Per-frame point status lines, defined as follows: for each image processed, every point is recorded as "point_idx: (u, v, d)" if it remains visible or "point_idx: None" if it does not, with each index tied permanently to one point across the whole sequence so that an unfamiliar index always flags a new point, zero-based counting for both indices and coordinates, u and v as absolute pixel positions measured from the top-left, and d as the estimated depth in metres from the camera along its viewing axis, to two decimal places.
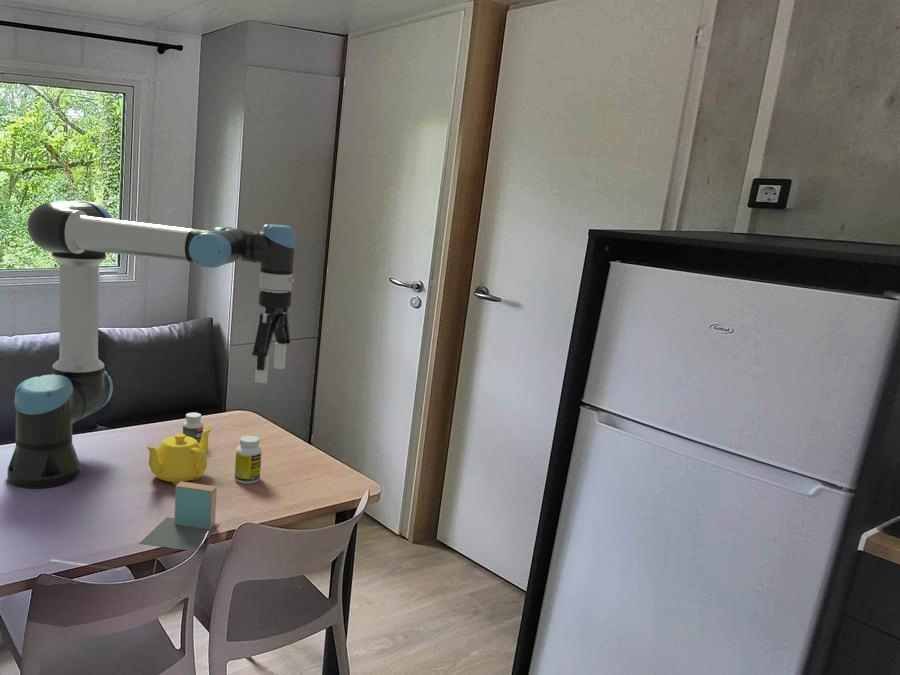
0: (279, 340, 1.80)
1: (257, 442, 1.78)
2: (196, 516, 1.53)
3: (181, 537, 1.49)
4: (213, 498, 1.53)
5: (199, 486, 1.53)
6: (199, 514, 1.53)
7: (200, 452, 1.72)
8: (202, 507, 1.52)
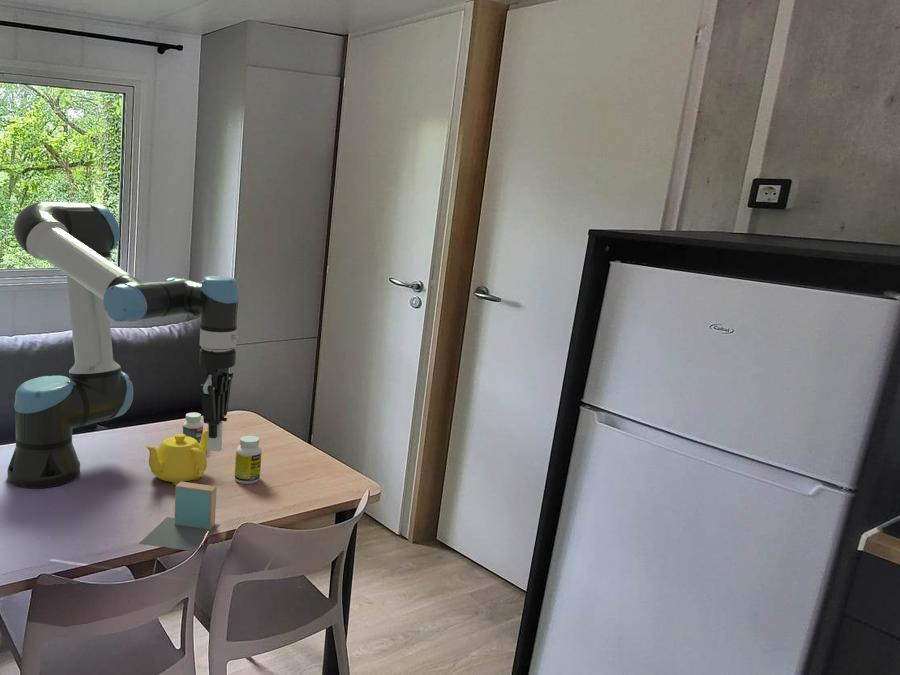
0: None
1: (257, 442, 1.78)
2: (196, 516, 1.53)
3: (181, 537, 1.49)
4: (213, 498, 1.53)
5: (199, 486, 1.53)
6: (199, 514, 1.53)
7: (200, 452, 1.72)
8: (202, 507, 1.52)
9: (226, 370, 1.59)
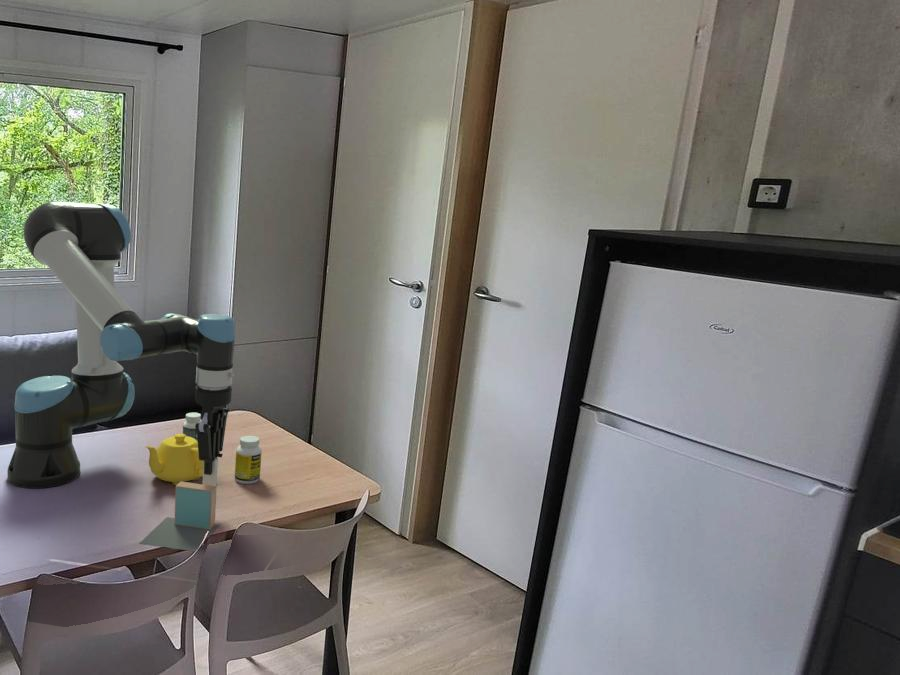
0: None
1: (257, 442, 1.78)
2: (196, 516, 1.53)
3: (181, 537, 1.49)
4: (213, 498, 1.53)
5: (199, 486, 1.53)
6: (199, 514, 1.53)
7: None
8: (202, 507, 1.52)
9: (222, 406, 1.59)
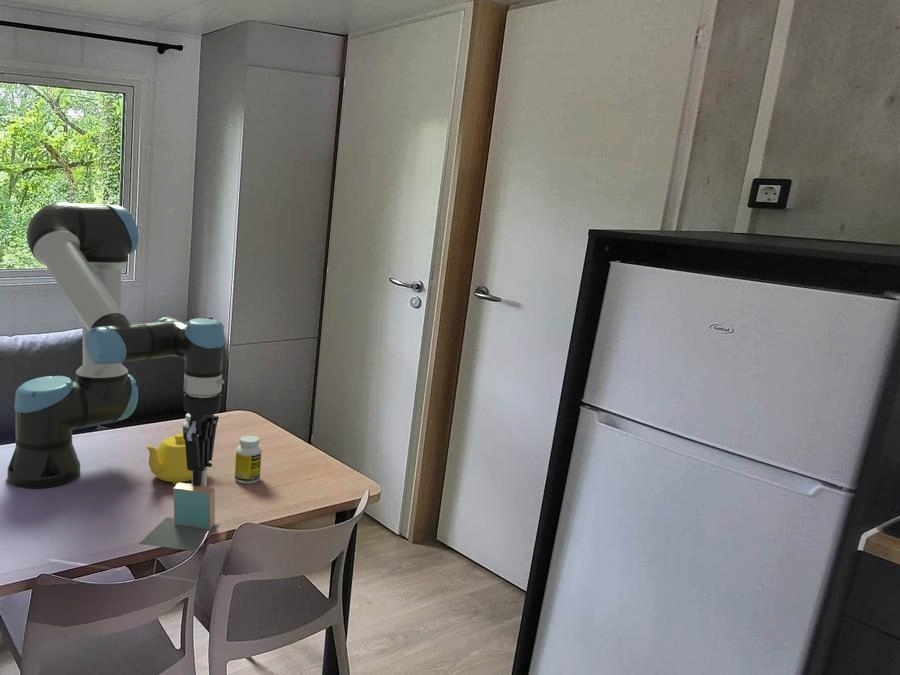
0: None
1: (257, 442, 1.78)
2: (195, 517, 1.53)
3: (181, 537, 1.49)
4: (212, 499, 1.52)
5: (197, 488, 1.52)
6: (198, 515, 1.52)
7: None
8: (201, 508, 1.52)
9: (211, 414, 1.54)
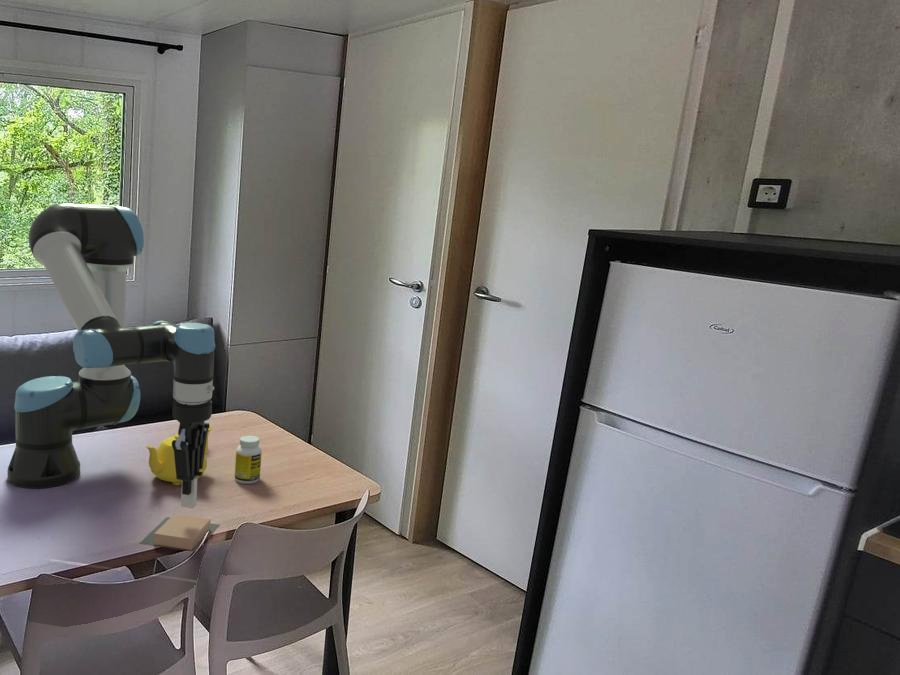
0: None
1: (257, 442, 1.78)
2: None
3: None
4: (196, 539, 1.46)
5: (176, 541, 1.44)
6: None
7: None
8: None
9: (202, 422, 1.49)
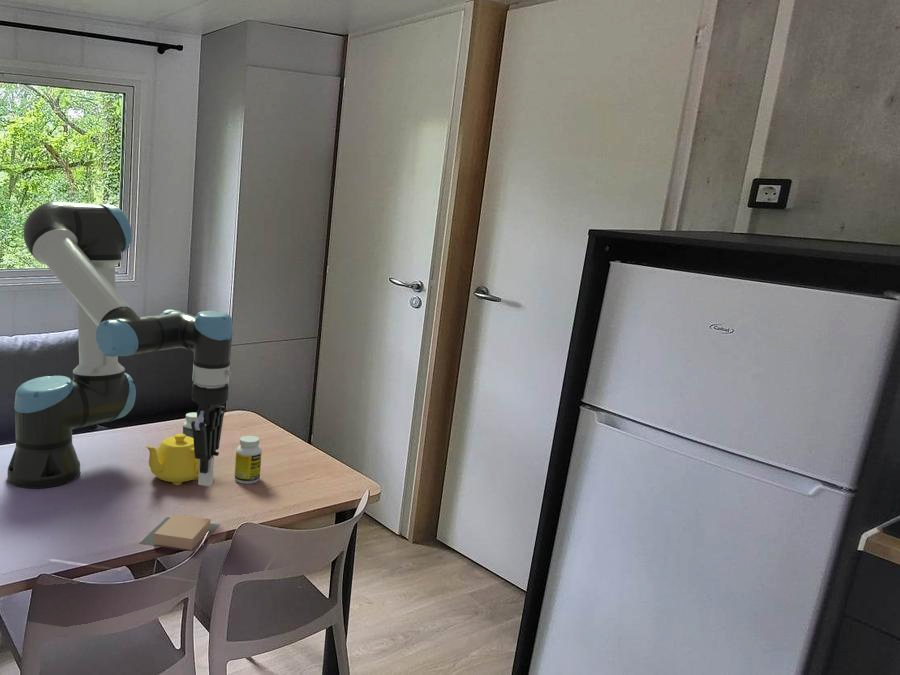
0: None
1: (257, 442, 1.78)
2: None
3: None
4: (196, 539, 1.46)
5: (176, 541, 1.44)
6: None
7: None
8: None
9: (219, 405, 1.58)
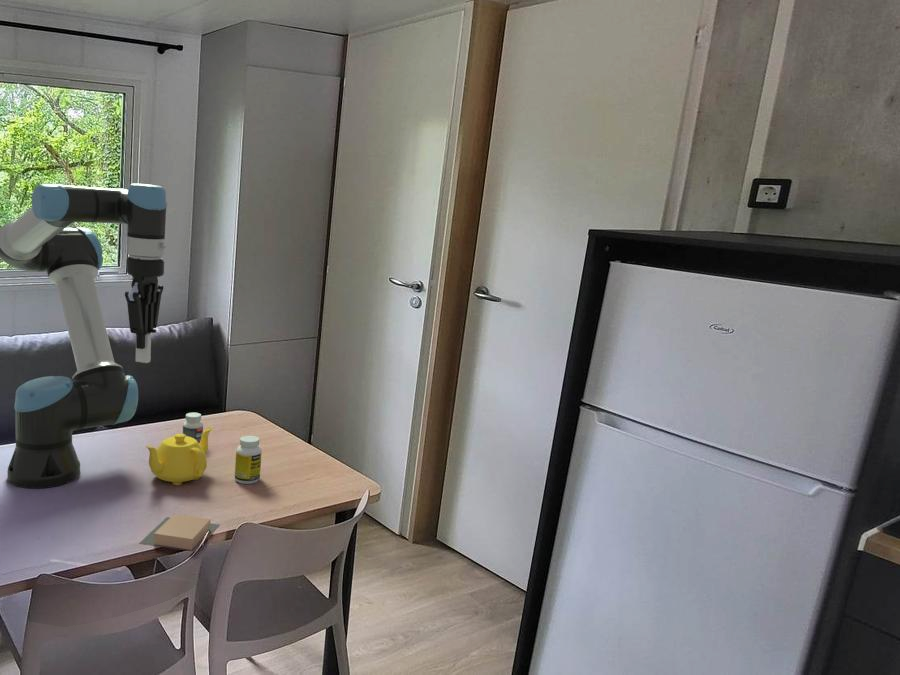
0: None
1: (258, 442, 1.78)
2: None
3: None
4: (196, 539, 1.46)
5: (176, 541, 1.44)
6: None
7: (200, 452, 1.72)
8: None
9: (155, 281, 1.58)
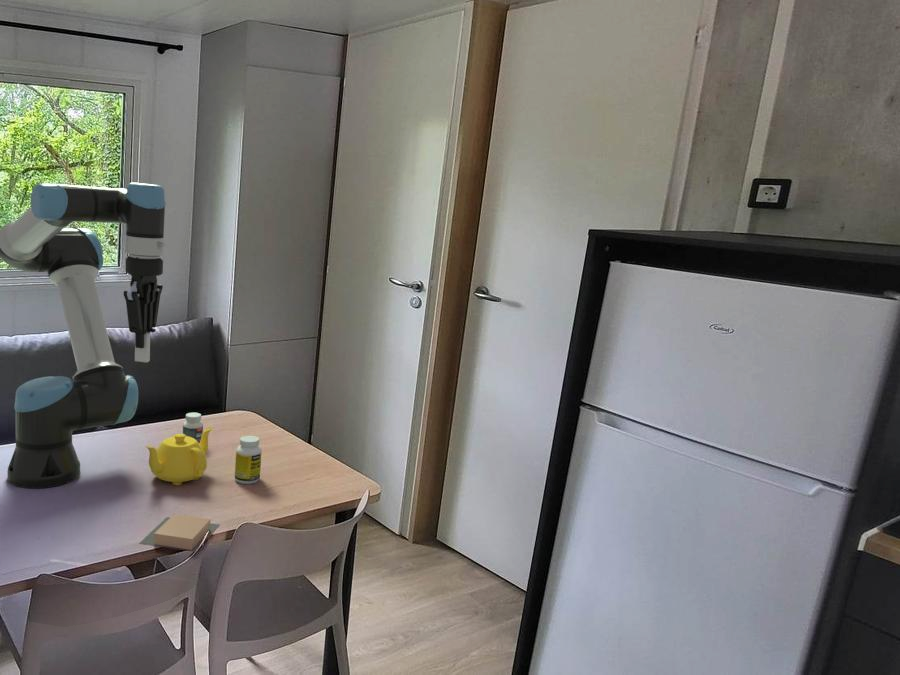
0: None
1: (257, 442, 1.78)
2: None
3: None
4: (196, 539, 1.46)
5: (176, 541, 1.44)
6: None
7: (200, 452, 1.72)
8: None
9: (154, 280, 1.58)
